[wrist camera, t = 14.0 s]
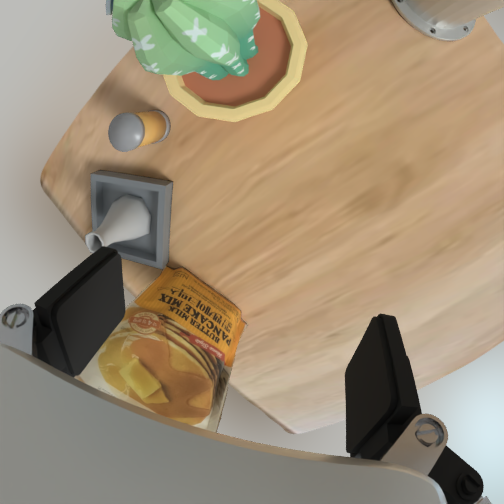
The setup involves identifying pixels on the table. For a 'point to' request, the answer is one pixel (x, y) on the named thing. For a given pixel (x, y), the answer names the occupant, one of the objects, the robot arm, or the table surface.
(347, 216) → the table surface
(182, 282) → the pancake mix bag
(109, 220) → the flask
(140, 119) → the fuse
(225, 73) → the potted cactus
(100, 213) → the tray
